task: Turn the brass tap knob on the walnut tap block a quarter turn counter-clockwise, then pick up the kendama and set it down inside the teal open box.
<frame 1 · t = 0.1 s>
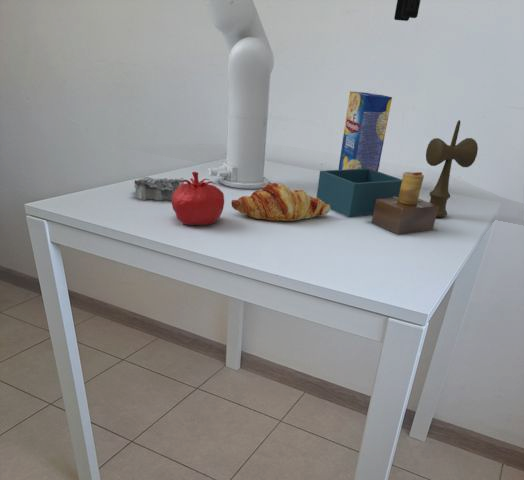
hand: (404, 18, 104), 37 cm above the table, tool pointing down, fingers open, 9 cm apart
tap knob: (410, 187, 98), point 8 cm above the table, hinge at 0.0°
teal open box: (356, 206, 113), on the table
beverage box: (355, 185, 132), on the table
croissant: (281, 217, 101), on the table
tap block: (401, 226, 102), on the table
grey flat jagged block: (160, 197, 108), on the table
kendama: (434, 216, 111), on the table
red tomato: (197, 222, 95), on the table
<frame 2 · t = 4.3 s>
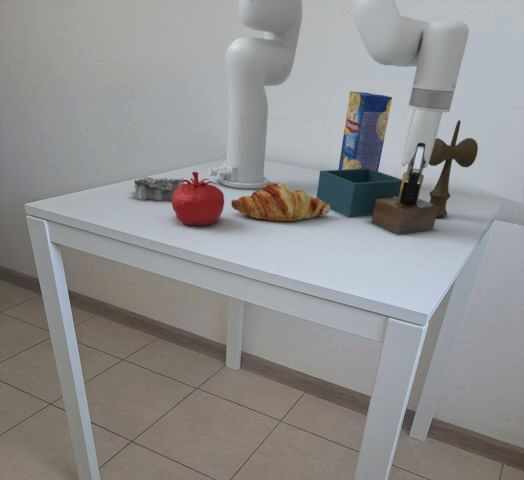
hand: (407, 199, 99), 6 cm above the table, tool pointing down, fingers closed on tap knob, 4 cm apart
tap knob: (410, 187, 98), point 8 cm above the table, hinge at -0.1°, touching gripper
everything else where it was.
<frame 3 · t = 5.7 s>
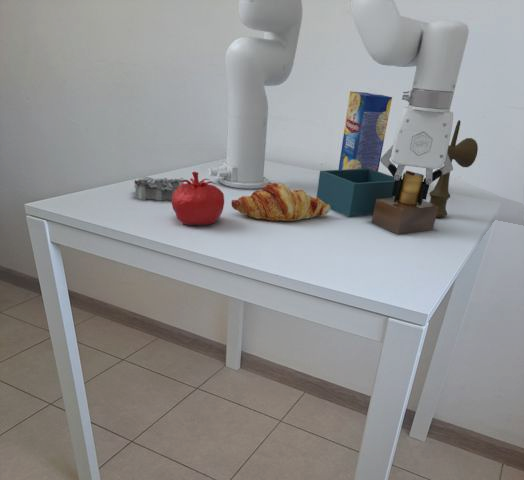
hand: (407, 200, 99), 5 cm above the table, tool pointing down, fingers closed on tap knob, 4 cm apart
tap knob: (410, 187, 98), point 8 cm above the table, hinge at 91.0°, touching gripper
everything else where it was.
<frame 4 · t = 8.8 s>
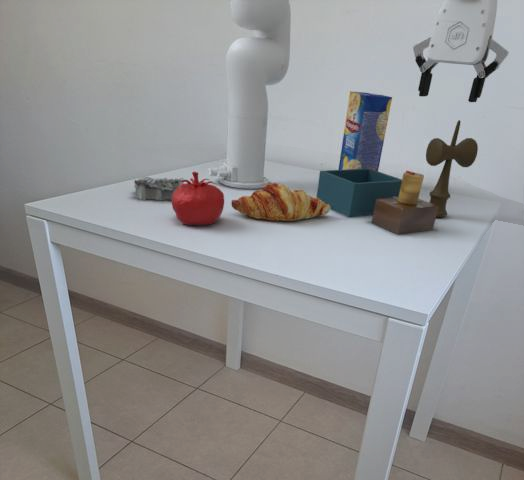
hand: (447, 99, 93), 24 cm above the table, tool pointing down, fingers open, 9 cm apart
tap knob: (410, 187, 98), point 8 cm above the table, hinge at 91.6°
everything else where it was.
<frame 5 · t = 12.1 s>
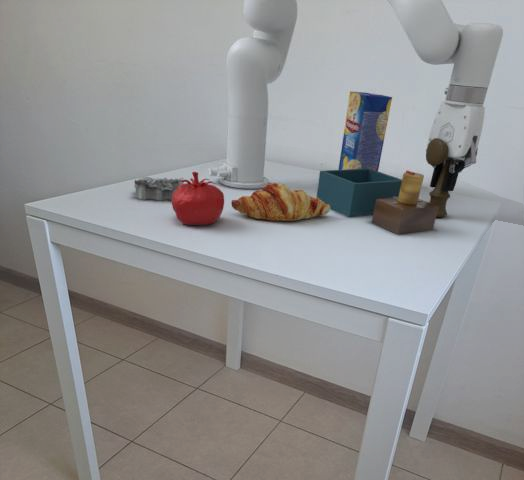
hand: (441, 188, 108), 6 cm above the table, tool pointing down, fingers closed on kendama, 2 cm apart
kendama: (434, 216, 111), on the table, touching gripper
everything else where it was.
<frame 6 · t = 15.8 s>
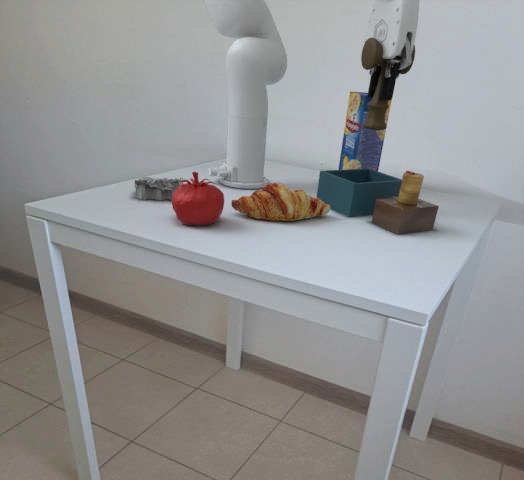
hand: (379, 97, 101), 23 cm above the table, tool pointing down, fingers closed on kendama, 2 cm apart
kendama: (373, 130, 104), point 16 cm above the table, touching gripper
everything else where it was.
when the fingers open (7 cm above the table, at t = 19.6 s): kendama stays where it is, resting on teal open box.
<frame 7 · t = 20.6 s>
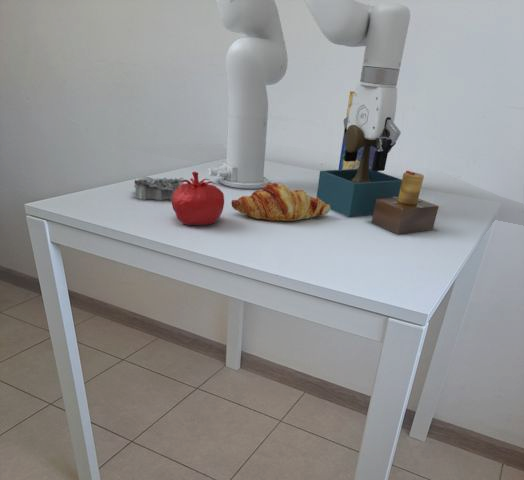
hand: (363, 165, 108), 9 cm above the table, tool pointing down, fingers open, 9 cm apart
kendama: (357, 203, 112), point 1 cm above the table, touching teal open box
everything else where it was.
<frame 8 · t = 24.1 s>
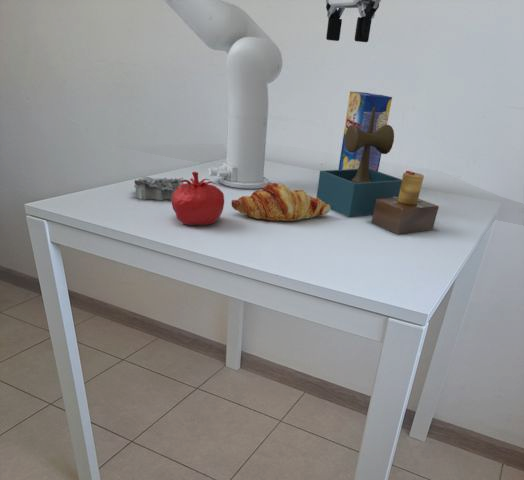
hand: (346, 41, 102), 32 cm above the table, tool pointing down, fingers open, 9 cm apart
nothing on the table moved.
at the end: tap knob at +92° (first picture: +0°); kendama inside the target area in the teal open box (0.0 cm from its centre), point 0.8 cm above the teal open box's base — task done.
